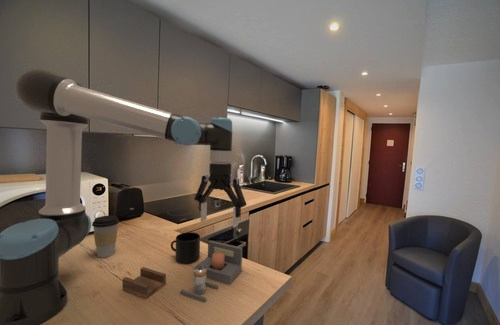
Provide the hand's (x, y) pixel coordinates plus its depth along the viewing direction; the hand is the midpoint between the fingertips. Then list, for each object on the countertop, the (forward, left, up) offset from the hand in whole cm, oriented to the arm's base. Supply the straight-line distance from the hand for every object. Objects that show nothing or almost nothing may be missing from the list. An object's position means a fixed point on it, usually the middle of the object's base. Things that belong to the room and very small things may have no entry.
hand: (219, 223), depth 82 cm
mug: (+4, +18, -19) cm, 26 cm away
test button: (0, 0, -16) cm, 16 cm away
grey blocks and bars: (-5, 0, -19) cm, 19 cm away
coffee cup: (-8, +48, -19) cm, 52 cm away
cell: (-11, 0, -19) cm, 22 cm away
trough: (-17, +17, -19) cm, 30 cm away
